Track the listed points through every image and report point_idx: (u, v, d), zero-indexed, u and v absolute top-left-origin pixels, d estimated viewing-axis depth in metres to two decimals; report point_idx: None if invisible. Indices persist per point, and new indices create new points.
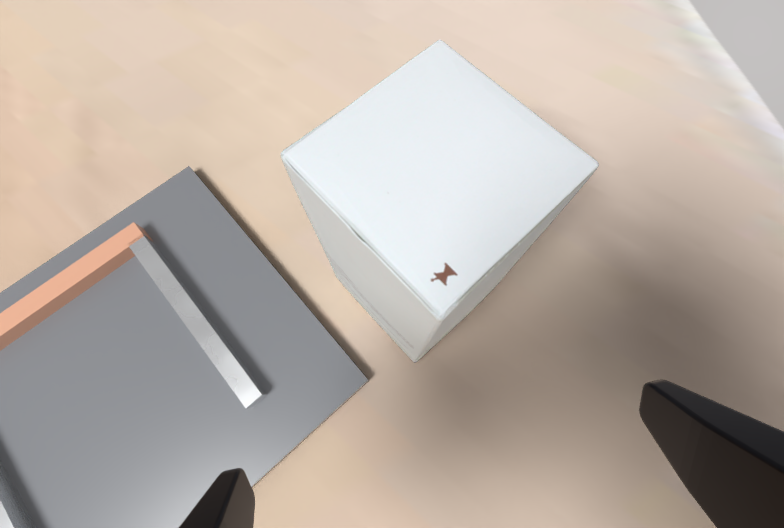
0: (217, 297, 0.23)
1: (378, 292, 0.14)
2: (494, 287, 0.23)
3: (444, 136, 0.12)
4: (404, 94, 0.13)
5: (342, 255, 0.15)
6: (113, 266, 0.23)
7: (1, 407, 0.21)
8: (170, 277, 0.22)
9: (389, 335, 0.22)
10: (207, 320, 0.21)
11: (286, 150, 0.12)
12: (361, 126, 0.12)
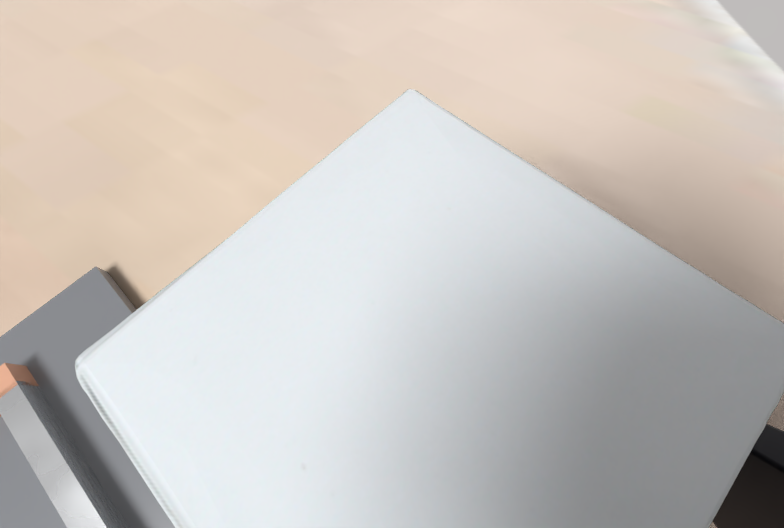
0: (127, 470, 0.15)
1: None
2: None
3: (433, 297, 0.05)
4: (344, 203, 0.06)
5: None
6: None
7: None
8: (52, 450, 0.15)
9: None
10: (105, 520, 0.14)
11: (86, 354, 0.06)
12: (251, 285, 0.06)
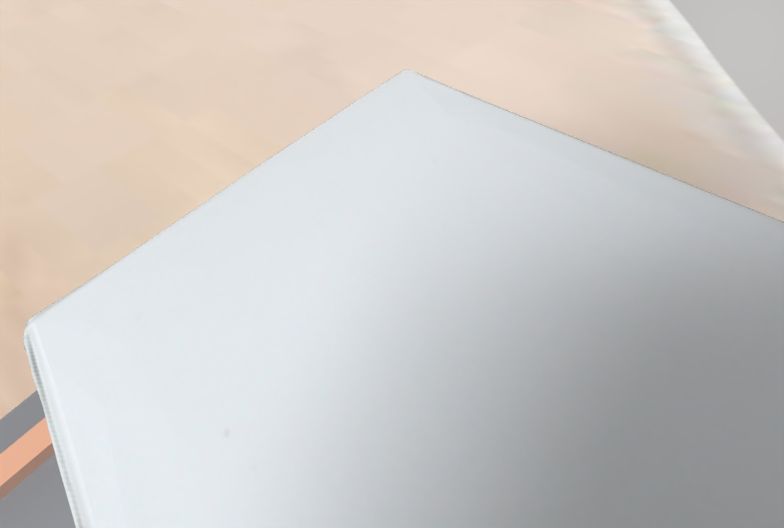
0: None
1: None
2: None
3: (408, 246, 0.05)
4: (323, 165, 0.06)
5: None
6: (36, 463, 0.18)
7: None
8: None
9: None
10: None
11: (39, 313, 0.05)
12: (213, 243, 0.05)
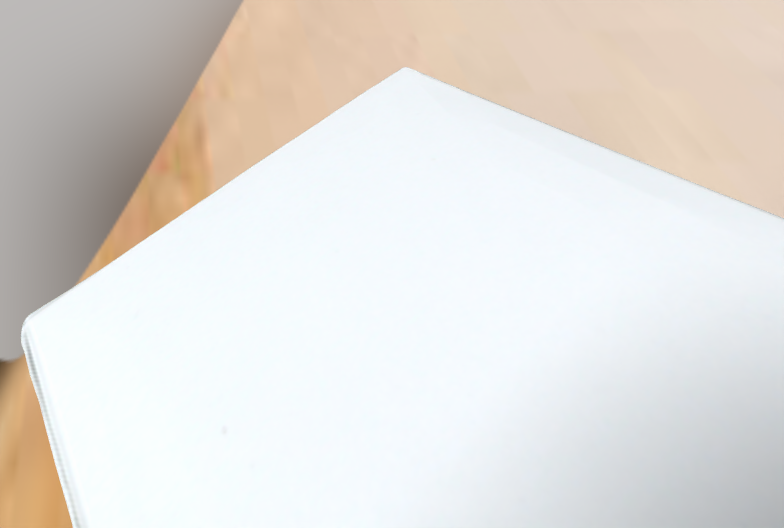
0: None
1: None
2: None
3: (406, 244, 0.05)
4: (322, 162, 0.06)
5: None
6: None
7: None
8: None
9: None
10: None
11: (36, 312, 0.05)
12: (211, 240, 0.05)
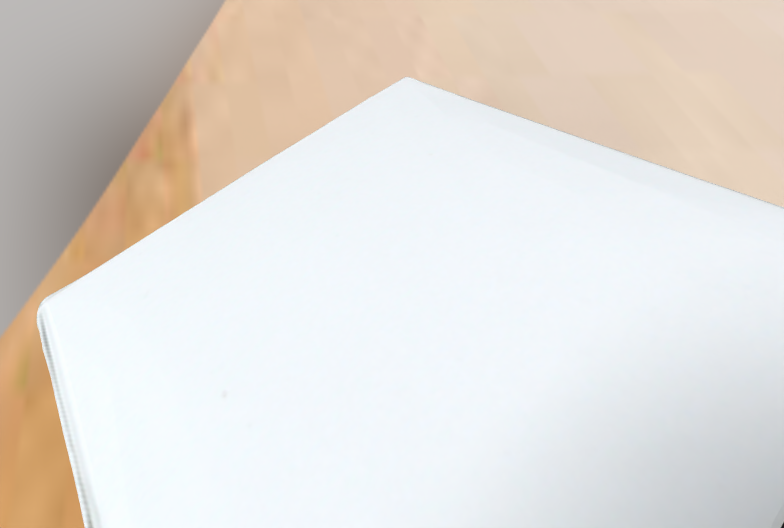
0: None
1: None
2: None
3: (403, 227, 0.05)
4: (326, 159, 0.06)
5: None
6: None
7: None
8: None
9: None
10: None
11: (52, 294, 0.05)
12: (219, 228, 0.05)
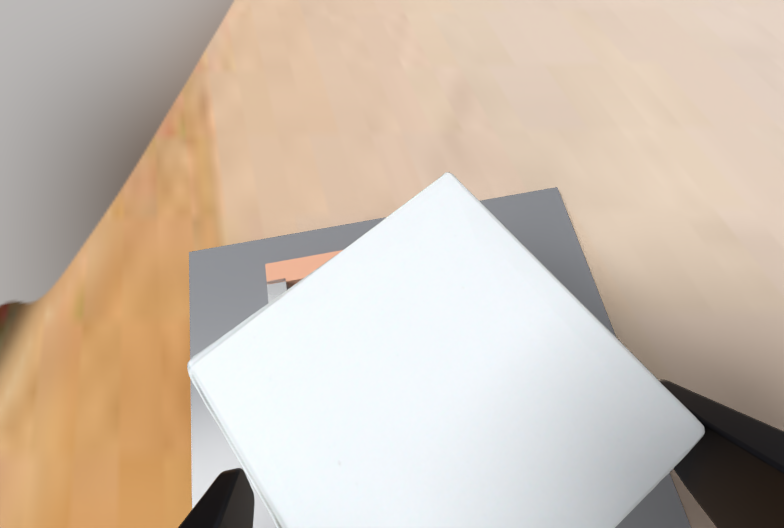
0: None
1: None
2: None
3: (440, 357, 0.07)
4: (385, 270, 0.08)
5: None
6: None
7: None
8: None
9: None
10: None
11: (195, 360, 0.08)
12: (311, 327, 0.08)
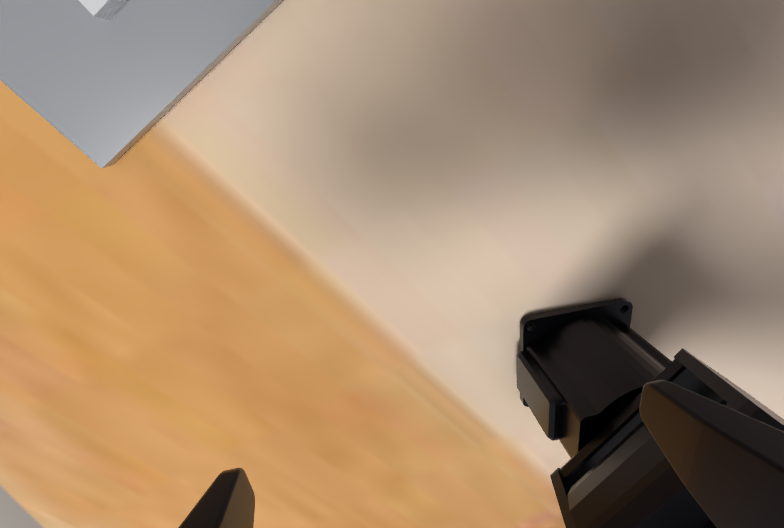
0: None
1: None
2: None
3: None
4: None
5: None
6: None
7: None
8: None
9: None
10: None
11: None
12: None
